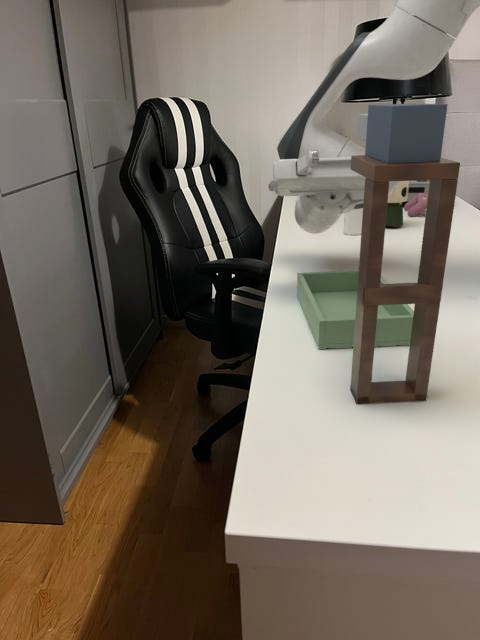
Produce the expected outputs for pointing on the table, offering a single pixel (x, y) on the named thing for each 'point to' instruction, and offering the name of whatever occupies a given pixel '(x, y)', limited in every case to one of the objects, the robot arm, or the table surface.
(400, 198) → the character mug
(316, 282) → the tray
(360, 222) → the eye dropper bottle
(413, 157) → the slate grey square prism
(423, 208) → the video game controller
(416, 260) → the table surface
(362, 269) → the shelf stand
